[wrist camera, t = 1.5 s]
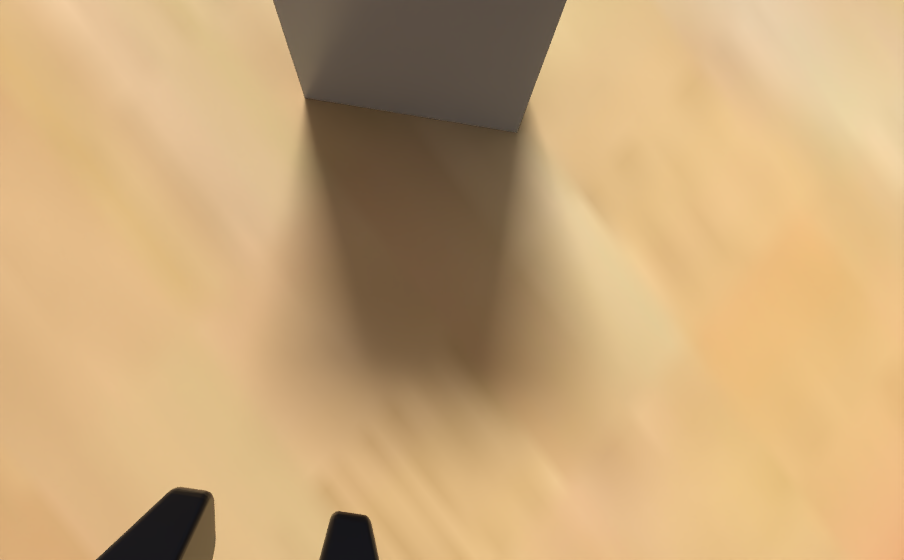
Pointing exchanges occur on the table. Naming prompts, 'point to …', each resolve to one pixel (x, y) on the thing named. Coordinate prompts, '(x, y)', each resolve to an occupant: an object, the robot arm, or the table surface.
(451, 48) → the glazed tile
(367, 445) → the table surface
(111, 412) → the table surface
